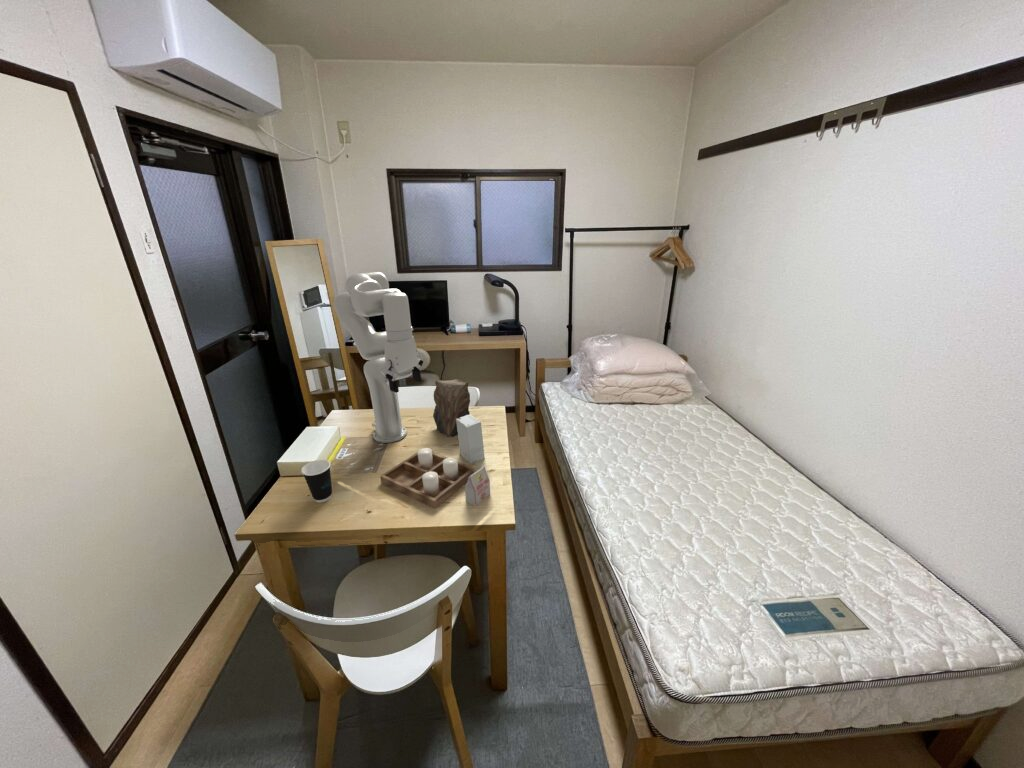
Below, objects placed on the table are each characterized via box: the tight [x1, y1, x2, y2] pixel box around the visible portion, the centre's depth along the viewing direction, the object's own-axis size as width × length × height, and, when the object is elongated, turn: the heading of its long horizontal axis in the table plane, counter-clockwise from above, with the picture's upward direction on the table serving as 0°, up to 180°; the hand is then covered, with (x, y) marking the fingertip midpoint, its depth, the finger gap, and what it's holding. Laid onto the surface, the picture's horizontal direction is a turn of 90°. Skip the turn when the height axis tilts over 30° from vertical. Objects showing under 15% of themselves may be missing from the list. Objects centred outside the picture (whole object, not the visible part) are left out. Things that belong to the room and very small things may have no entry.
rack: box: [379, 451, 477, 510], centre depth 130 cm, size 23×19×4 cm
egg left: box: [417, 447, 433, 471], centre depth 135 cm, size 5×5×6 cm
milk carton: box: [464, 466, 491, 507], centre depth 119 cm, size 4×7×10 cm, turn 143°
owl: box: [432, 378, 471, 438], centre depth 159 cm, size 13×13×20 cm
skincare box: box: [456, 413, 486, 464], centre depth 140 cm, size 8×6×15 cm
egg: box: [422, 472, 440, 497], centre depth 123 cm, size 5×5×6 cm
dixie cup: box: [300, 459, 333, 503], centre depth 122 cm, size 8×8×11 cm
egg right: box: [443, 456, 459, 481], centre depth 130 cm, size 5×5×6 cm
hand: (406, 386), depth 130 cm, fingers open, 9 cm apart
